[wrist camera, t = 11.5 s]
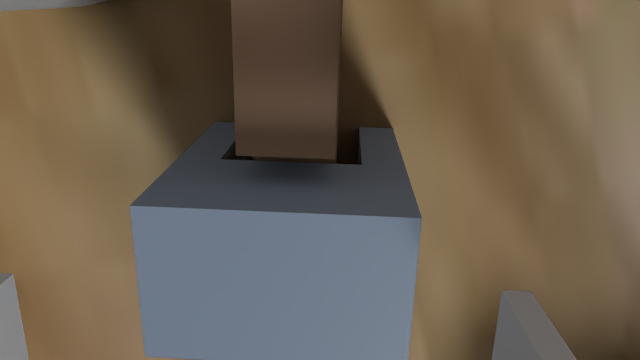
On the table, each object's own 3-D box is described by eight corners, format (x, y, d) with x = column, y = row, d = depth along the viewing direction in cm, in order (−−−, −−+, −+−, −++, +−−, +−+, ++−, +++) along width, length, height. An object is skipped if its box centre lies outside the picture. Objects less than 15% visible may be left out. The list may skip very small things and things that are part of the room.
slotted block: (385, 230, 25) (406, 370, 16) (219, 222, 26) (145, 356, 16) (392, 128, 24) (421, 218, 14) (214, 121, 24) (129, 205, 15)
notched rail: (330, 342, 28) (324, 473, 20) (273, 339, 28) (245, 469, 20) (343, -29, 22) (341, -39, 14) (270, -30, 22) (229, -41, 14)
